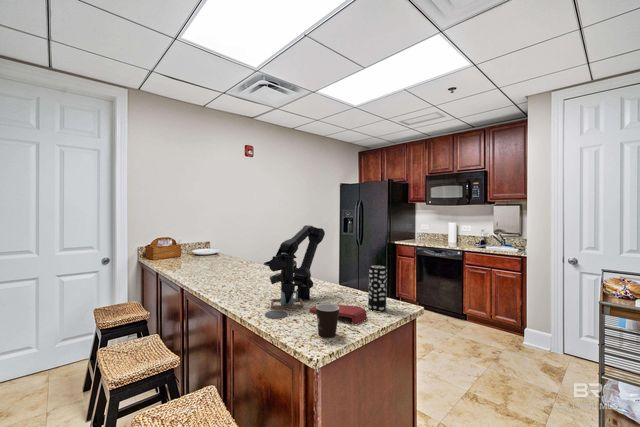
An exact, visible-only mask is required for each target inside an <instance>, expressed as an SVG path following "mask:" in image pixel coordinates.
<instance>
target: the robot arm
mask: <svg viewBox="0 0 640 427" xmlns="http://www.w3.org/2000/svg"><path fill="white" fill-rule="evenodd" d="M325 232H326V231H325V230H324V229H323V228H322V227H321V228H320V227H315V226H314V225H303V227H302V228H301V229H300V230H299V231H298V232H297V233H296V234H295V235H294V236H293V237H291V238H290V239H286V240H284V241H283V242H281V244H280V246H279V247H278V250H277V252H276V254H275V255H273V256H272V258H271V259H270V260H269V263H268V268H269V270H271V272H278V273H275V274H273V275H270V276H269V280H270V283H271V285H275V284H276V283H279V282H280V285H281V286H280V292H281V291H283V292H284V293H285V299H286V303H289V301H290V299H291V296H292V294H293V295H294V293H293V292H294V290H295V289H296V290H297V291H298V298H301V299H302V301H304V300H305V301H307V300H309V301H310V300H311V288H313V287H314V281H313V280H312V278H311V276H312V273H311V266H312V263H313V261H314V258H315V255H316V253H317V252H316V251H317V248H318V246H319V244H320V243H321V242H322V241H323V239H324V237H325V234H326V233H325ZM307 237H308V244H307V247H306V250H305V253H304V256H303V260H302V262H301V264H300V267H296V268H294V267H295V266H294V265H295V264H294V263H295V261H294V260H295V259H297V255H295V254H296V253H297V251H298V250H299V246H300V244H302V243H303V242H304V241H305V240H306V239H307ZM279 271H280V272H279ZM296 287H297V288H296Z"/></svg>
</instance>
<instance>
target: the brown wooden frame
mask: <svg viewBox="0 0 640 427" xmlns="http://www.w3.org/2000/svg"><path fill="white" fill-rule="evenodd" d="M293 299H296V297H295V298H294V297H293ZM270 301H271V302H270V303H271V304H270V309H271V310H280V309H281V310H282V309H283V310H285V309H290V310H291V309H304V303H303V300H302V299H301V298H298V301H297V302H299V303H300V304H293V305H282V306H281V305H274V303H278V302H280V303H281V298H271V300H270Z"/></svg>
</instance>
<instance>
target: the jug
mask: <svg viewBox="0 0 640 427" xmlns="http://www.w3.org/2000/svg"><path fill="white" fill-rule="evenodd" d="M294 294H295V298H296V299H293V298H294ZM280 299H281V302H280V306H282V305H294V302H299V301H298V291H297V290H294V292H293V294H292V296H291V299H290V301H289V303H286V299H285V293H284V292H283V291H281V290H280Z"/></svg>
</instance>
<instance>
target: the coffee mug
mask: <svg viewBox="0 0 640 427" xmlns="http://www.w3.org/2000/svg"><path fill="white" fill-rule="evenodd" d="M337 305H338V304H336V305H333V304H332V303H321V304H317V305H316V313H315V314H316V323H317V333H318V334H317V335H318V336H319V337H320V338H323V339H332V338H335V337H336V336H337V335H336V334H337V327H338V319H339V316H338V314H339V307H338V306H337Z"/></svg>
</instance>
